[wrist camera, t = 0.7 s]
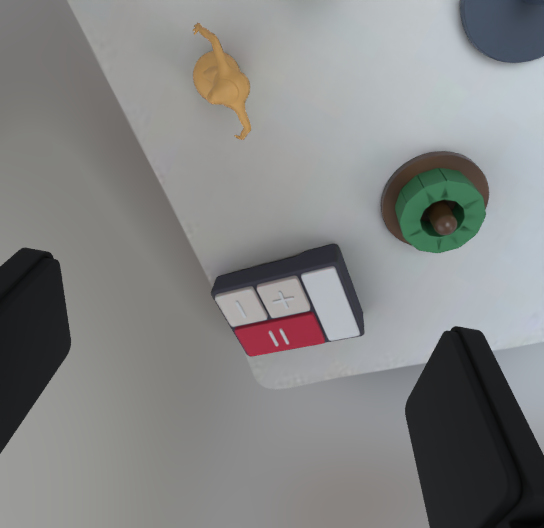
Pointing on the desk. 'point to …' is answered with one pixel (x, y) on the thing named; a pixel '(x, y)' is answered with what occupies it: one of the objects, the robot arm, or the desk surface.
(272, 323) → the calculator
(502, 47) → the slate peg
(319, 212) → the desk surface
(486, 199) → the walnut peg
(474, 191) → the ring
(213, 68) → the figurine
